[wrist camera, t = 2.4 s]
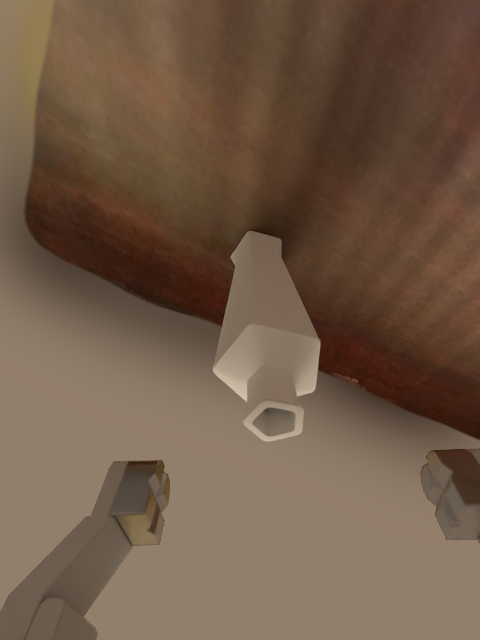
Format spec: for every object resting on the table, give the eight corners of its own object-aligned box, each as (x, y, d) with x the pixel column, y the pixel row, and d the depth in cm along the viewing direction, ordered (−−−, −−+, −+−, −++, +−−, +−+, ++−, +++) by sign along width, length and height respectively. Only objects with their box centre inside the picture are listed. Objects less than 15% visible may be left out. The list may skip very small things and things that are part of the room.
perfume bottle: (266, 294, 25) (288, 475, 13) (218, 266, 24) (192, 436, 12) (303, 248, 23) (373, 410, 11) (253, 214, 22) (267, 355, 10)
